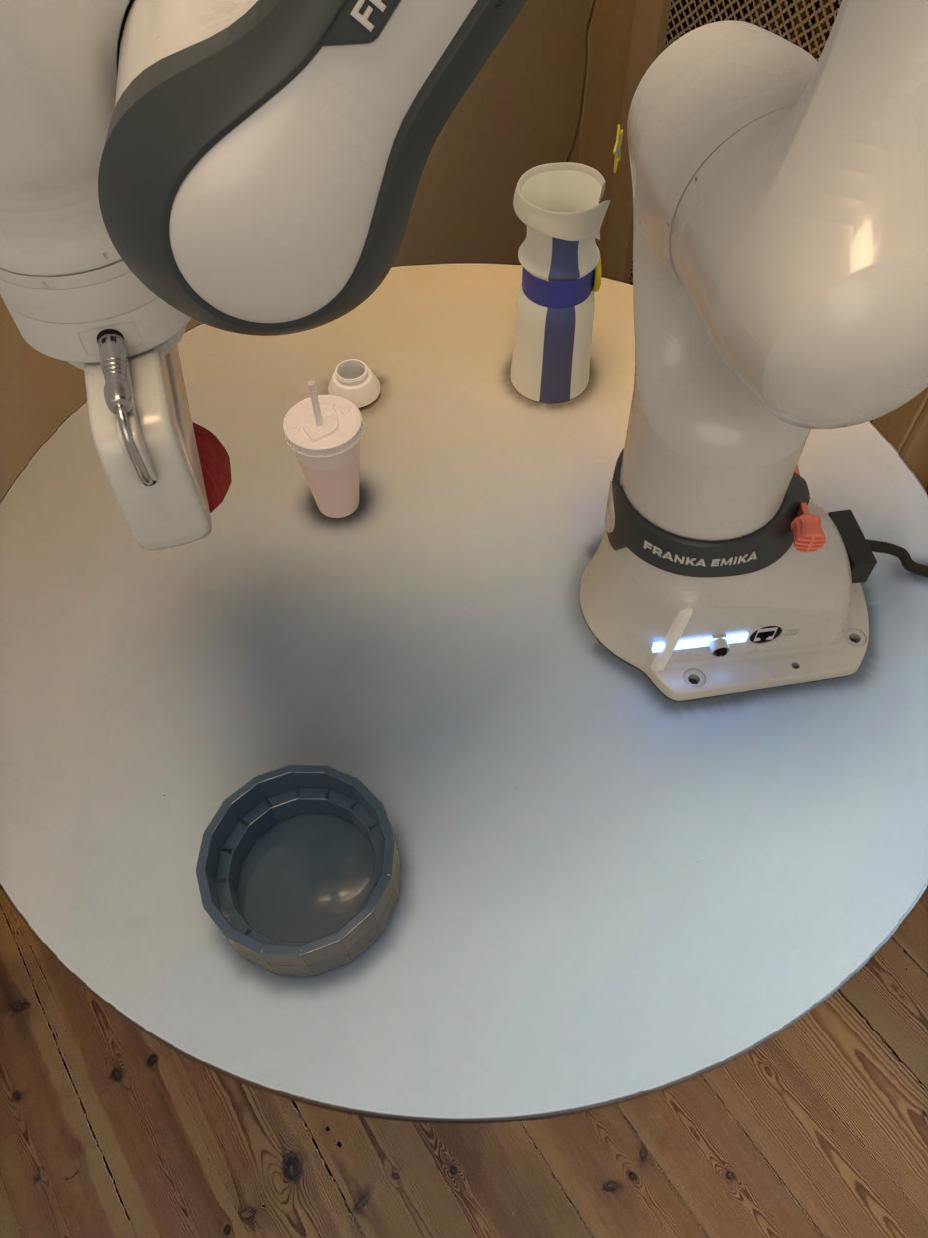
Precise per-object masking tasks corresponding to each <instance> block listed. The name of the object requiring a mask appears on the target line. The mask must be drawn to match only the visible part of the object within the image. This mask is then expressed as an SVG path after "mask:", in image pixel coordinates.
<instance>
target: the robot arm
mask: <svg viewBox="0 0 928 1238" xmlns="http://www.w3.org/2000/svg"><path fill="white" fill-rule="evenodd" d="M528 1H529V0H0V297H1V299H2V300H3V303H4V305H5V307H6V309H7V310H8V312H9V314H10V316H11V318H12V320H13V322H14V323H15V325H16V327H17V329H18V332H19V333H20V336H21V337H22V338H23V340H24V341H25V342H26V343H27V344H28V345H29V346H30V347H31V348H33V349H34V350H35V351H37V352H39V353H41V354H42V355H44V356H47V357H49V358H52V359H54V360H55V359H56V360H58V361H63V362H67V363H68V364H70V365H71V366H73V367H75V368H76V369H79V370H81V371H83V373H84V383H85V384H84V385H85V392H86V402H87V412H88V420H89V426H90V431H91V435H92V439H93V443H94V447H95V449H96V453H97V455H98V459H99V461H100V464H101V466H102V470H103V472H104V475H105V476H106V479H107V481H108V483H109V486H110V488H111V490H112V493H113V495H114V497H115V500H116V502H117V504H118V506H119V509H120V512H121V513H122V515H123V517H124V520H125V522H126V524H127V526H128V528H129V530H130V532H131V535H132V537H133V539H134V540H135V542H136V544H137V545H138V546H139V547H141V548H142V549H144V550H147V551H161V550H166V549H171V548H176V547H180V546H184V545H188V544H191V543H194V542H196V541H197V542H198V541H200V540H203V539H206V538H207V537H208V536H209V535H210V534H211V533H212V528H213V523H212V517H211V513H210V511H209V506H208V500H207V495H206V490H205V485H204V480H203V475H202V470H201V465H200V459H199V454H198V449H197V444H196V439H195V434H194V429H193V424H192V422H193V419H192V413H191V408H190V404H189V399H188V393H187V389H186V383H185V379H184V373H183V367H182V363H181V357H180V352H179V347H178V344H179V343H180V342H181V340H182V339H183V336H184V335H185V333H186V329H187V325H188V324H189V322H190V321H191V320H192V319H193V320H194V321H197V322H199V323H201V324H204V325H206V326H210V327H212V328H214V329H218V330H221V331H225V332H228V333H234V334H238V335H239V334H240V335H246V336H255V337H257V336H259V337H260V336H261V337H275V336H276V337H277V336H287V335H293V334H297V333H303V332H307V331H310V330H313V329H316V328H317V329H318V328H319V327H323V326H325V325H327V324H329V323H331V322H334V321H337V320H339V318H342V317H344V316H346V315H347V314H349V313H350V312H352V311H353V310H355V309H356V308H358V307H359V306H360V305H362V304H363V303H364V302H365V301H366V300H368V299H369V298H370V296H372V295H373V294H374V293H375V291H377V289H378V288H379V287H380V286H381V284H382V283H383V281H385V279H386V277H387V276H388V275H389V273H390V270H391V269H392V267H393V265H394V263H395V262H396V259H397V257H398V254H399V252H400V249H401V247H402V243H403V241H404V237H405V235H406V232H407V227H408V224H409V221H410V216H411V214H412V209H413V205H414V203H415V202H414V201H415V197H416V194H417V190H418V188H419V184H420V180H421V178H422V175H423V172H424V170H425V167H426V164H427V162H428V159H429V157H430V154H431V153H432V150H433V149H434V146H435V144H436V142H437V140H438V138H439V137H440V134H441V132H442V131H443V129H444V127H445V126H446V124H447V123H448V120H449V119H450V117H451V116H452V114H453V112H454V111H455V110H456V108H457V106H458V105H459V103H460V102H461V100H462V99H463V97H464V96H465V94H466V93H467V91H468V89H469V88H470V87H471V85H472V83H473V82H474V81H475V79H476V78H477V76H478V75H479V73H480V72H481V71H482V69H483V67H485V65H486V63H487V61H488V60H489V58H490V57H491V56H492V54H493V53H494V51H495V50H496V48H497V47H498V45H499V44H500V43H501V41H502V40H503V38H504V36H505V35H506V34H507V32H508V30H509V29H510V27H511V26H512V25H513V23H514V22H515V20H516V19H517V17H518V16H519V14H520V13H521V12H522V10H523V9H524V7H525V5H526V4H527V2H528ZM830 29H831V30H830V32H829V35H828V37H827V40H826V42H825V45H824V47H823V49H822V51H821V54H820V56H819V59H818V60H817V59H816V58H815V57H814V56H813V54H810V53H809V52H808V51H807V50H805V49H804V48H802V47H800V46H799V45H797V44H795V43H793V42H791V41H790V40H788V39H786V38H784V37H782V36H780V35H778V34H776V33H774V32H772V31H769V30H768V29H765V28H763V27H761V26H759V25H756V24H754V23H751V22H747V21H743V20H735V19H734V20H732V19H731V20H719V21H714V22H711V23H707V24H704V25H701V26H698V27H696V28H694V29H692V30H690V31H688V32H686V33H685V34H683V35H682V36H680V37H679V38H677V39H676V40H674V41H673V42H671V44H669V45H668V46H667V47H666V48H665V49H664V50H663V51H662V52H661V53H660V54H659V55H658V56H657V57H656V58H655V59H654V61H652V63H651V64H650V66H649V67H648V68H647V70H646V72H645V73H644V75H643V76H642V77H641V80H640V81H639V83H638V85H637V87H636V89H635V92H634V94H633V97H632V99H631V102H630V106H629V110H628V115H627V122H626V123H627V124H626V138H627V148H628V157H629V166H630V174H631V175H630V176H631V187H632V219H633V220H632V223H633V228H632V229H633V231H632V233H633V237H632V238H633V239H632V301H633V302H632V303H633V308H632V309H633V332H634V333H633V335H634V377H633V391H632V396H631V403H630V409H629V414H628V415H629V416H628V422H627V428H626V435H625V441H624V445H623V446H624V447H623V448H622V450H621V451H620V453H619V455H618V457H617V459H616V462H615V466H614V470H613V475H612V479H611V480H610V481H609V486H608V487H609V488H608V492H607V498H606V507H605V514H604V516H605V517H604V527H605V531H604V533H603V536H602V539H601V541H600V543H599V546H598V548H597V550H596V552H595V553H594V554H593V556H592V557H591V559H590V560H589V561H588V563H587V565H586V566H585V568H584V570H583V573H582V575H581V579H580V583H579V590H578V591H579V594H578V595H579V605H580V609H581V613H582V615H583V617H584V620H585V622H586V624H587V626H588V627H589V629H590V631H591V633H593V635H594V636H595V637H596V639H597V640H598V641H599V642H600V643H601V644H602V645H603V646H604V647H605V648H606V649H608V650H609V651H610V652H611V653H613V654H614V655H615V656H616V657H618V658H620V659H621V660H623V661H625V662H626V663H628V664H630V665H632V666H633V667H636V668H637V669H639V670H640V671H642V672H643V673H644V674H645V675H646V676H647V677H648V678H649V679H650V681H651V682H652V683H653V684H654V686H656V688H657V689H659V691H660V692H661V693H662V694H663V695H665V696H666V697H668V698H669V699H671V700H673V701H677V702H678V701H679V702H682V701H689V700H690V701H691V700H697V699H703V698H709V697H716V696H723V695H729V694H730V695H731V694H736V693H743V692H750V691H755V690H762V689H769V688H775V687H783V686H791V685H795V684H802V683H810V682H815V681H822V680H828V679H835V678H842V677H847V676H850V675H854V674H855V673H857V671H858V670H859V668H860V666H861V665H862V662H863V660H864V658H865V655H866V653H867V650H868V645H869V638H870V620H869V619H870V618H869V611H868V605H867V601H866V597H865V593H864V589H863V587H862V583H866V582H867V581H868V579H869V578H870V575H871V574H872V572H873V571H874V569H875V568H876V566H877V564H878V560H877V558H876V556H875V554H874V553H881V554H886V555H890V556H893V557H895V558H897V559H898V560H899V562H900V563H901V566H902V568H904V569H905V570H907V571H908V572H910V573H912V574H915V575H920V576H924V577H927V578H928V565H926V564H923V563H919V562H916V561H915V560H913V558H912V555H911V554H910V552H909V551H908V550H907V549H906V548H904V547H903V546H900V545H897V544H895V543H891V542H887V541H882V540H874V539H868V538H866V537H865V534H864V532H863V530H862V528H861V526H860V524H859V523H858V521H857V519H856V517H855V514H854V513H853V511H852V509H842V510H834V511H829V512H828V513H827V512H826V510H824V509H823V508H822V507H820V506H819V505H817V504H815V503H813V502H811V501H810V500H811V494H810V490H809V485H808V483H807V481H806V480H805V479H804V478H803V477H802V476H801V473H800V468H799V461H800V459H801V456H802V454H803V451H804V448H805V446H806V444H807V441H808V438H809V436H810V433H811V430H835V429H843V428H848V427H853V426H857V425H861V424H864V423H867V422H872V421H874V420H876V419H879V418H881V417H883V416H886V415H887V414H889V413H890V414H891V413H892V412H894V411H896V410H897V409H898V408H901V407H902V406H904V405H905V404H907V403H908V402H910V401H911V400H912V399H914V398H915V397H917V396H918V395H920V394H921V393H922V392H924V390H925V389H926V388H928V0H841V2H840V5H839V8H838V10H837V14H836V17H835V19H834V22H833V25H832V27H831V28H830ZM851 639H852V640H854V641H852V640H851ZM690 680H694V681H696V682H697V683H692V682H691V681H690Z"/></svg>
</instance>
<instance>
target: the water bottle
mask: <svg viewBox="0 0 928 1238" xmlns="http://www.w3.org/2000/svg"><path fill="white" fill-rule="evenodd" d="M623 135H624V129H621V124H620V123H618V124H617V128H616V136H615V143H614V147H613V150H612V153H613V156H614V160H613V161H614V163H613V174H616V173H617V170H618V165H619V161H621V158H622V155H621V154H622V153H621V152H622V151H621V150H622V142H623ZM606 184H607V182H606V179H605V178H604V176H603V175H602V174H601V172H600V171H599V170H597V169H596V168H594V167H592V166H589V165H587V164H585V163H579V162H573V161H571V162H570V161H569V162H568V161H564V162H562V161H561V162H550V163H543V164H539V165H536V166H533V167H531V168H530V169H527V170H526V171H525V172H524V173H523V174H521V176H520V178H519V179H518V181H517V183H516V186H515V190H514V194H513V201H512V206H513V210H514V213H515V215H516V217H517V218H518V219H519V220H520V221H521V222H522V223H523V224H524V225H525V226H526V234H525V239H524V240H523V241H522V243H521V244H520V245H519V248H518V251H517V258H518V262H519V263H520V265H521V266H522V270H521V271H522V272H521V273H522V274H521V284H520V285H519V288H518V291H517V294H516V300H515V311H514V330H513V332H514V334H513V345H512V357H511V367H510V368H511V369H510V381H511V384H512V386H513V388H514V389H515V390H516V391H517V392H518V393H519V394H520V395H521V396H523V397H524V398H527V399H529V400H531V401H534V402H538V403H544V404H559V403H565V402H567V401H570V400H573V399H575V398H576V397H578V396H580V395H581V394H582V393H583V392H584V391H585V390H586V389H587V387H588V385H589V382H590V371H591V370H590V369H591V353H592V338H593V328H594V327H593V326H594V319H595V318H594V317H595V307H596V305H595V302H596V301H595V299H596V298H595V293H596V292H599V290H600V288H601V286H602V285H601V284H602V275H603V273H602V272H603V271H602V270H603V269H602V268H603V267H602V258H601V252H600V249H599V247H598V245H597V242H596V239H597V240H598V241H601V229H602V225H603V222H604V219H605V216H606V213H607V211H608V208H609V205H610V204H611V199H607V200H604V201H601V200H602V199H603V197H604V195H605V190H606Z"/></svg>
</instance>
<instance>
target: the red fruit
mask: <svg viewBox="0 0 928 1238" xmlns="http://www.w3.org/2000/svg"><path fill="white" fill-rule="evenodd" d="M192 424H193V429H194V434H195V439H196V444H197V449H198V454H199V459H200V465H201V470H202V475H203V480H204V485H205V490H206V495H207V500H208V506H209V511H210V514H212V513H213V512H214V511H215V510H217V508H218V507H219V506H220V505H221V504H222V503H223V502H224V500H225V498H226V495H227V494H228V492H229V490H230V487H231V484H232V466H231V458H230V455H229V453H228V451H227V449H226V448H225V445H224V444H222V442H221V441H220V439H219V438H218V437H217V436H216V435H215V434H214V433H213V432H212V431H211V430H210V429H207V428H206V427H204V426H202V425H200V424H198V423H196V422H194V421H192Z"/></svg>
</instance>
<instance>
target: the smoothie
mask: <svg viewBox="0 0 928 1238" xmlns="http://www.w3.org/2000/svg"><path fill="white" fill-rule="evenodd" d="M307 387H308V388H307V389H308V392H309V397H306V398H304V399H302V400H300V401H298V402H296V403H295V404H294V405H292V406H291V407H290V408H289V409H288V411H287V412H286V414H285V416H284V418H283V422H282V429H283V433H284V434H283V435H284V439H285V441H286V444H287V446H289V448H291V450H293V452H294V455H295V457H296V459H297V461H298V464H299V466H300V468H301V471H302V474H303V475H304V477H305V480H306V482H307V484H308V485H307V486H308V488H309V489H310V492H311V494H312V496H313V500H314V501H315V504H316V507H317V508H318V510H319V512H320V513H321V514H322V515H323V516H325V517H328V518H332V519H342V518H345V517H348V516H350V515H352V514H354V512H356V510H357V509H358V507H359V506H360V466H361V465H360V462H361V460H360V459H361V458H360V455H361V454H360V453H361V451H360V450H361V449H360V448H361V437H362V436H363V432H364V428H365V427H364V420H363V417H362V413H361V411H360V408H358V407H357V406H356V405H355V404H354V403H353V402H351V401H350V400H348V399H346V398H343V397H340V396H336V395H328V394H318V390H317V386H316V382H315V380H309V381H308V382H307Z"/></svg>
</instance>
